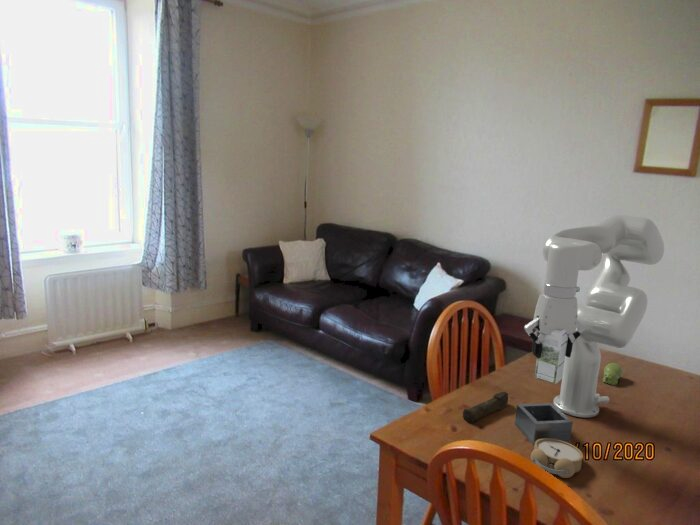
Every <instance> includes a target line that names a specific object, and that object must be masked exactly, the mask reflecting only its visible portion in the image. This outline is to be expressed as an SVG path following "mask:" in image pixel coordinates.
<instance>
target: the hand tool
mask: <svg viewBox="0 0 700 525" xmlns="http://www.w3.org/2000/svg"><path fill="white" fill-rule="evenodd" d="M508 402H509V393H508V392H506V391H500V392H498V393H495V394H494V395H493V397H492V398H490V399H488V400H485V401H483V402H481V403H479V404H476V405H474V406H472V407H469V408H464V409H463V411H462V419H463V421H464V422H466V423H469V424H473V423H474V422H477V420H479V419H480V418H482V417H484V416H488V415H489V414H490V413H492V412H495V411H501V409H502V410H503V409H504V408H505V407H506V406H507V405H508Z"/></svg>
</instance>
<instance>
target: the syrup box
mask: <svg viewBox="0 0 700 525" xmlns="http://www.w3.org/2000/svg"><path fill="white" fill-rule="evenodd" d="M567 341H568V335H566V330H565V329H562V330H554V331H552V332H551V335H545V337H544V338H543V340H542V341H541V344H542V352H541V358H537V357H536V363H535V371H534V378H535V379H537V380H540V381H543V382H548V383H551V384H554V385H557V384H558V383H559V382H560V381H562V378H563V370H564V362H565V355H566V348H567Z"/></svg>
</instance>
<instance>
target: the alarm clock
mask: <svg viewBox="0 0 700 525" xmlns="http://www.w3.org/2000/svg"><path fill="white" fill-rule="evenodd" d="M533 446H534V447H533V450H532V452H530V462H531V461H532V462H534V463H535V464H537V465H538V466H540V467H541V468H543V469H544V470H546V471H548V472H547V473H550V474H553V475H557V476H559V477H560V478H563V479H568V478H571V477H573V476H574V475H575V473H576V474H577V473H579V472H580V471H581V470H582V462H583V459H584V458H583V456H584V454H583V452H582V451H581V449H579V448H578V447H577V446H576V445H573V444H571V442H570V443H567V442H565V441H561V440H558V439H551V438H542V439H538V440H537V441H535V444H534V445H533ZM532 462H531V463H532ZM544 470H543V471H544ZM546 471H545V472H546Z"/></svg>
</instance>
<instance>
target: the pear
mask: <svg viewBox="0 0 700 525" xmlns="http://www.w3.org/2000/svg"><path fill="white" fill-rule="evenodd" d="M622 376H623V368H622V367H621V365H620V364H618V363H616V362H610V363H607V365H606V366H605V367H604V368H603V378H602V382H603V383H604V382H605V384H607V383H608V385H612V386H616V385H617V384H618V382H619V379H620V378H622Z"/></svg>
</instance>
